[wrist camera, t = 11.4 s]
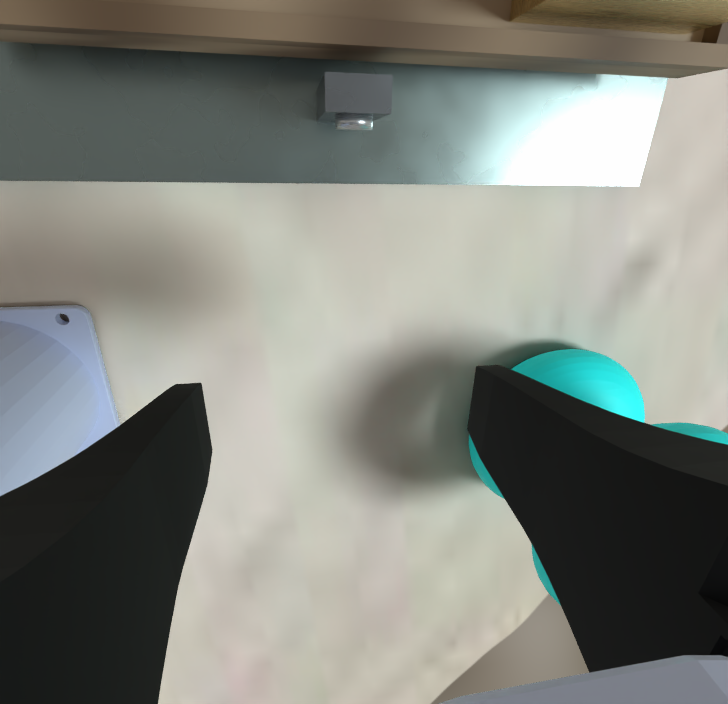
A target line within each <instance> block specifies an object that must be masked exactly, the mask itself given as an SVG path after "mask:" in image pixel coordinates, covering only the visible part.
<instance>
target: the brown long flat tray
mask: <svg viewBox="0 0 728 704" xmlns="http://www.w3.org/2000/svg"><path fill="white" fill-rule="evenodd" d="M511 3H512V0H0V41H1V42H20V43H38V44H56V45H75V46H93V47H111V48H130V49H148V50H167V51H185V52H203V53H222V54H240V55H258V56H277V57H295V58H314V59H332V60H350V61H369V62H387V63H405V64H424V65H442V66H461V67H479V68H497V69H516V70H534V71H552V72H571V73H589V74H608V75H626V76H644V77H663V78H681V77H686V76H691V75H696V74H701V73H707V72H712V71H717V70H722V69H727V68H728V22H726V23H722V24H719V25H716V26H712V27H709V28H706V29H702V30H699V31H696V32H692V33H689V34H686V35H680V34H667V33H653V32H639V31H625V30H612V29H598V28H584V27H570V26H557V25H543V24H529V23H515V22H509V19H510V11H511Z"/></svg>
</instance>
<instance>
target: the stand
mask: <svg viewBox="0 0 728 704" xmlns="http://www.w3.org/2000/svg"><path fill="white" fill-rule="evenodd" d="M667 80H668V78H663V77H644V76H626V75H608V74H589V73H571V72H552V71H534V70H516V69H497V68H479V67H461V66H442V65H424V64H405V63H387V62H369V61H350V60H332V59H314V58H295V57H277V56H258V55H240V54H222V53H203V52H185V51H167V50H148V49H130V48H111V47H93V46H75V45H56V44H38V43H20V42H1V41H0V180H5V181H117V182H229V183H341V184H452V185H564V186H639V184H640V181H641V177H642V173H643V169H644V166H645V162H646V158H647V155H648V151H649V147H650V143H651V140H652V136H653V132H654V129H655V125H656V121H657V118H658V114H659V110H660V106H661V103H662V99H663V95H664V92H665V88H666V84H667Z"/></svg>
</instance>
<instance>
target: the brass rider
mask: <svg viewBox="0 0 728 704" xmlns="http://www.w3.org/2000/svg"><path fill="white" fill-rule="evenodd" d="M509 22H515V23H529V24H543V25H557V26H570V27H584V28H598V29H612V30H625V31H639V32H653V33H667V34H680V35H686V34H689V33H692V32H696V31H699V30H702V29H706V28H709V27H712V26H716V25H719V24H722V23H726V22H728V0H512V3H511V11H510V19H509Z"/></svg>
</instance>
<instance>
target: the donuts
mask: <svg viewBox="0 0 728 704" xmlns="http://www.w3.org/2000/svg"><path fill="white" fill-rule="evenodd" d="M511 370H513V371H516V372H518V373H521V374H523V375H525V376H528V377H530V378H532V379H534V380H537V381H539V382H541V383H543V384H546V385H548V386H550V387H552V388H554V389H557V390H559V391H561V392H564V393H566V394H568V395H571V396H573V397H575V398H578V399H580V400H582V401H585V402H587V403H590V404H593V405H595V406H598V407H600V408H603V409H605V410H608V411H611V412H613V413H616V414H619V415H622V416H625V417H628V418H631V419H634V420H637V421H640V422H643V423H644V419H645V413H644V403H643V398H642V395H641V392H640V390H639V388H638V385H637V383H636V382H635V380H634V379H633V377H632V376H631V375H630V374H629V373H628V371H627V370H626V369H625V368H624V367H622V366H621V365H620V364H619V363H617V362H616V361H614V360H612V359H611V358H609V357H607V356H605V355H602V354H599V353H596V352H592V351H587V350H581V349H565V350H556V351H551V352H546V353H543V354H540V355H537V356H534V357H532V358H530V359H527V360H525V361H523V362H522V363H520V364H518V365H516V366H515V367H513V368H512V369H511ZM653 426H656V427H659V428H663V429H666V430H670V431H674V432H678V433H681V434H685V435H689V436H693V437H697V438H701V439H705V440H709V441H714V442H718V443H723V444H728V433H725V432H723V431H720V430H718V429H715V428H712V427H708V426H703V425H697V424H691V423H661V424H653ZM469 450H470V456H471V460H472V463H473V466H474V468H475V470H476V472H477V474H478V475H479V477H480V479H481V480H482V481H483V482H484V483H485V485H486V486H487V487H488V488H489V489H490V490H492V491H493V492H494V493H495V494H497V495H498V496H500V497H502V498H504V497H503V495H502V494H501V492H500V490H499V489H498V487H497V486H496V484H495V482H494V481H493V479H492V478H491V476H490V474H489V473H488V471H487V469H486V468H485V466H484V464H483V463H482V461H481V459H480V457H479V455H478V453H477V451H476V448H475V446H474V444H473V441H472V439H471V437H470V434H469ZM504 499H505V498H504ZM532 554H533V561H534V565H535V568H536V570H537V573H538V576H539V578H540V580H541V582H542V583H543V585H544V587H545V588H546V590H547V591H548V593H549V594H550V595H551V596H552V597H553V598H554V599H555V600H556V601H557V602H558V603H559V604H560V602H559V600H558V598H557V596H556V593H555V591H554V589H553V587H552V584H551V582H550V580H549V578H548V576H547V574H546V572H545V570H544V568H543V566H542V564H541V562H540V559H539V557H538V555H537V553H536V551H535V549H534V547H533V545H532ZM560 605H561V604H560Z"/></svg>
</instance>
